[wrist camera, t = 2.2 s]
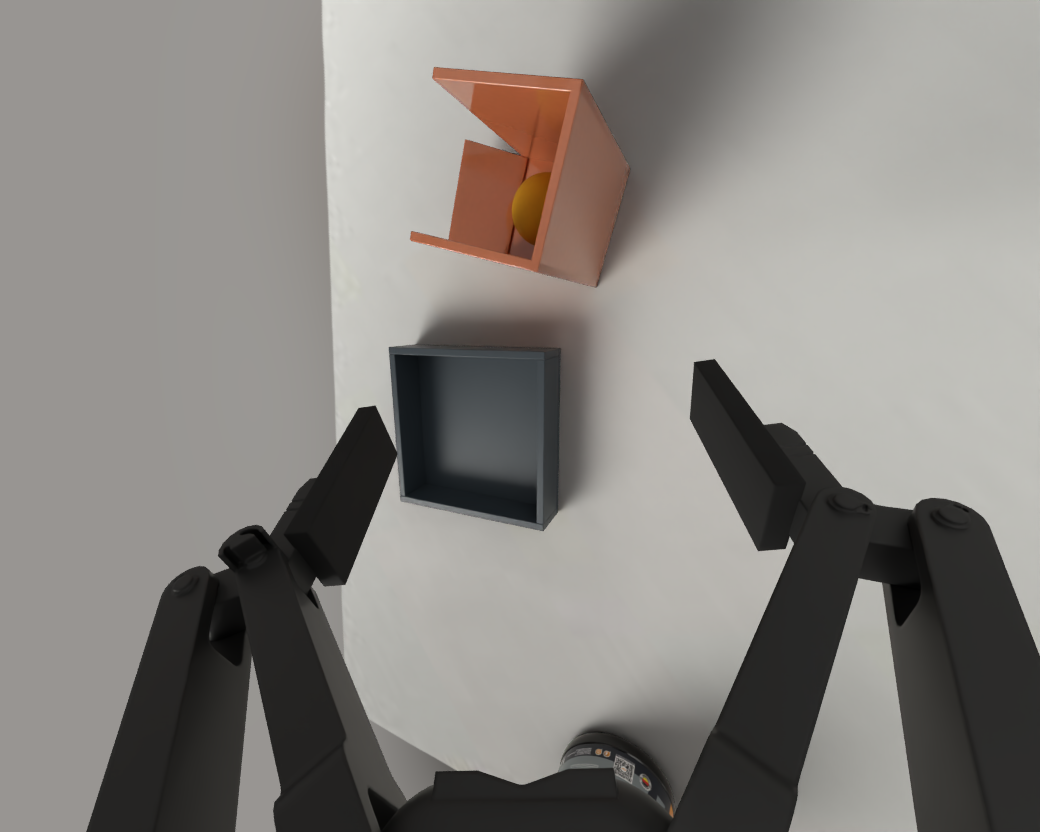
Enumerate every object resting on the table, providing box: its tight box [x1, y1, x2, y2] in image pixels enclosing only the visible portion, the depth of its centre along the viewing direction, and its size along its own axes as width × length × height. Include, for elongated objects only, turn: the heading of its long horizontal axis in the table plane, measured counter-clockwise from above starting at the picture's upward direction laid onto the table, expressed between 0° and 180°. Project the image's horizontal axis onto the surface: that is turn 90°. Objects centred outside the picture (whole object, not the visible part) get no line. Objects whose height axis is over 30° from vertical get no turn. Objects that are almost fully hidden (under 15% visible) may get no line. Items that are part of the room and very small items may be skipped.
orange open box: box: [410, 67, 630, 288], centre depth 26 cm, size 12×8×12 cm
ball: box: [512, 172, 551, 246], centre depth 28 cm, size 5×5×5 cm
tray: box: [389, 345, 560, 531], centre depth 36 cm, size 14×14×4 cm
